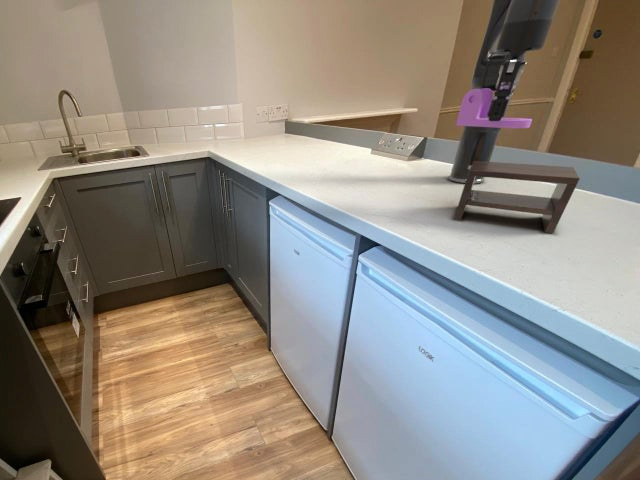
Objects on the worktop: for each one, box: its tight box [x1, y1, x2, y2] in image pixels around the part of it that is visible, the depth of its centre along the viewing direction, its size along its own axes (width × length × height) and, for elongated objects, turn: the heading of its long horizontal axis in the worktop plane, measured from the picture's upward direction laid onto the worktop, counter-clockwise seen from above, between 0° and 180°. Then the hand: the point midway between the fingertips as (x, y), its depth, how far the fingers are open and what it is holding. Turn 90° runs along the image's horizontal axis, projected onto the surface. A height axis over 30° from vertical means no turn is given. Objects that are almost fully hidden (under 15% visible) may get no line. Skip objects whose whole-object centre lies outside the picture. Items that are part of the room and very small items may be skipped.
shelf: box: [453, 161, 580, 234], centre depth 75 cm, size 11×18×11 cm, turn 55°
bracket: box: [455, 88, 533, 129], centre depth 72 cm, size 13×6×7 cm, turn 37°
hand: (495, 119), depth 73 cm, fingers closed on bracket, 6 cm apart
